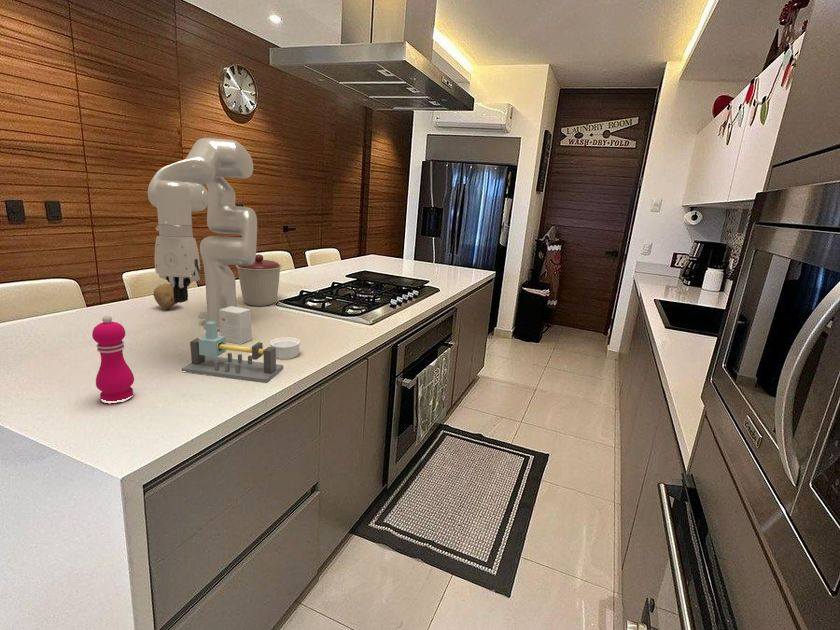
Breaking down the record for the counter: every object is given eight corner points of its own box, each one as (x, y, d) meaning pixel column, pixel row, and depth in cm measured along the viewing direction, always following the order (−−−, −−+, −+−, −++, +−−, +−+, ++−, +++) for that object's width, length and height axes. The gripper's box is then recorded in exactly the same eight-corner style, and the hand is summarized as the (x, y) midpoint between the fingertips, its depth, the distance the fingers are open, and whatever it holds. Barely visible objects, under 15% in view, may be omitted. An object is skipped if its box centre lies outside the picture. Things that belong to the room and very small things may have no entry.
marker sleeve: (199, 354, 118) (197, 323, 115) (209, 349, 122) (207, 319, 120) (216, 356, 117) (214, 325, 115) (225, 351, 121) (224, 321, 119)
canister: (274, 310, 178) (272, 259, 173) (230, 307, 178) (227, 255, 173) (287, 299, 196) (287, 253, 190) (247, 296, 196) (245, 250, 190)
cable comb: (181, 371, 117) (179, 342, 114) (204, 358, 126) (202, 331, 124) (266, 382, 114) (265, 353, 112) (283, 368, 123) (282, 340, 121)
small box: (252, 339, 144) (251, 309, 141) (240, 344, 139) (239, 313, 136) (232, 335, 146) (231, 305, 143) (220, 340, 141) (218, 309, 138)
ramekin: (283, 362, 128) (283, 348, 126) (263, 355, 132) (263, 341, 131) (306, 354, 135) (306, 341, 134) (286, 347, 139) (286, 335, 138)
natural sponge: (175, 304, 176) (173, 280, 173) (186, 309, 171) (184, 284, 169) (151, 308, 169) (148, 283, 166) (162, 313, 164) (159, 287, 161)
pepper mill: (110, 390, 104) (99, 310, 99) (142, 391, 105) (133, 311, 99) (90, 405, 97) (78, 319, 92) (125, 406, 98) (114, 321, 92)
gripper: (138, 230, 109) (145, 301, 113) (193, 235, 107) (198, 307, 112) (159, 228, 116) (165, 296, 121) (212, 233, 114) (215, 301, 119)
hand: (181, 301), depth 116 cm, fingers closed
